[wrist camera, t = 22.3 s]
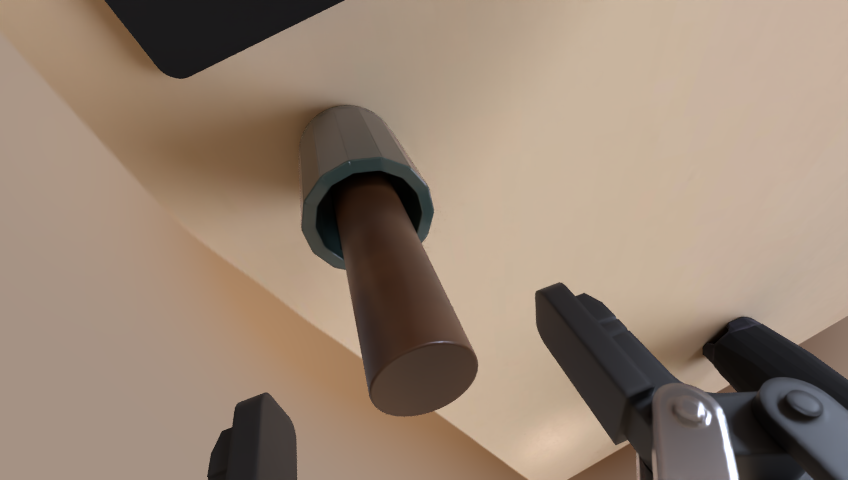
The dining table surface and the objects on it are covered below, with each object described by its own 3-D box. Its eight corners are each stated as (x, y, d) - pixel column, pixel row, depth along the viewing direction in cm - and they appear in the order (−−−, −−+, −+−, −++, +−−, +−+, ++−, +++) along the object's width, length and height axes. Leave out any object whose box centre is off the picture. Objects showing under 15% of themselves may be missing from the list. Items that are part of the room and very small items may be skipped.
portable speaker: (765, 303, 50) (980, 451, 34) (742, 347, 55) (918, 490, 40) (709, 325, 49) (904, 488, 33) (691, 367, 54) (852, 523, 39)
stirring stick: (335, 185, 23) (386, 431, 11) (317, 140, 22) (353, 371, 9) (381, 170, 24) (485, 391, 11) (367, 124, 22) (471, 326, 9)
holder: (320, 208, 25) (331, 289, 18) (281, 121, 21) (277, 183, 15) (405, 180, 25) (443, 249, 19) (381, 91, 22) (418, 138, 15)
